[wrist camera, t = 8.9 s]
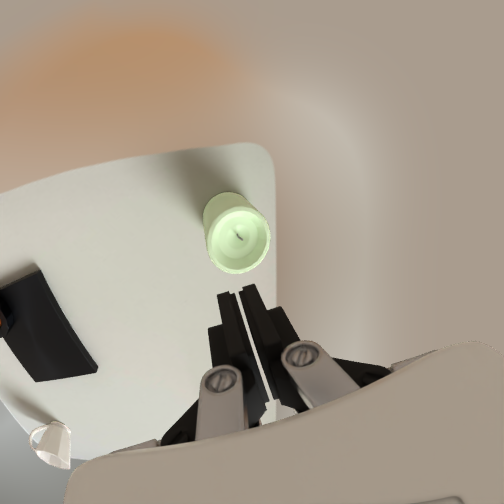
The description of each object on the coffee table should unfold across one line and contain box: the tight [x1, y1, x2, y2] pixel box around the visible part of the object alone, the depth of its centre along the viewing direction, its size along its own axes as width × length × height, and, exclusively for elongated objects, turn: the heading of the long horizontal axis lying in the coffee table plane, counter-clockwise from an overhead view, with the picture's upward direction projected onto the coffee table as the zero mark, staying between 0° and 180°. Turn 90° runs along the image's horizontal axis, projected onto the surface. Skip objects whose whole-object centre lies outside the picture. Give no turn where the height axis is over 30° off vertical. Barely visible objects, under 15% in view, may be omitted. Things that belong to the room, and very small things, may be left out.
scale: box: [0, 270, 98, 382], centre depth 26 cm, size 15×14×3 cm
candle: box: [203, 192, 270, 274], centre depth 24 cm, size 5×5×8 cm
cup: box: [29, 421, 71, 469], centre depth 30 cm, size 7×10×8 cm
